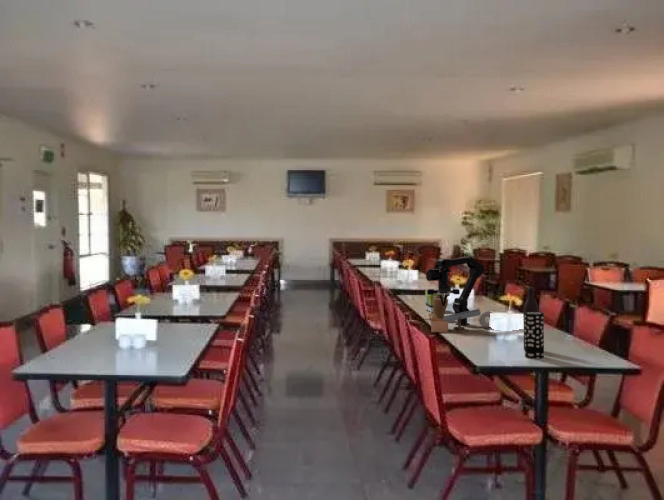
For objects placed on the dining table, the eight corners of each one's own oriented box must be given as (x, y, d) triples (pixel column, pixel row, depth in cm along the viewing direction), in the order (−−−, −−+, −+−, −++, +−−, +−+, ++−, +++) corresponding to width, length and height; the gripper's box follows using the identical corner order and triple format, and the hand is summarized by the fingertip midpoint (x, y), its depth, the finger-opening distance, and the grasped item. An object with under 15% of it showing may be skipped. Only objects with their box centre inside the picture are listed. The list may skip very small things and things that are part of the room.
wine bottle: (522, 349, 325) (521, 287, 323) (536, 348, 324) (536, 286, 323) (525, 351, 317) (525, 288, 316) (541, 351, 317) (540, 288, 316)
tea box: (425, 310, 473) (424, 289, 472) (439, 309, 474) (438, 288, 473) (430, 313, 458) (430, 291, 457) (444, 312, 459) (444, 290, 459)
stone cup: (449, 321, 418) (449, 297, 417) (430, 321, 419) (429, 297, 418) (446, 317, 433) (446, 294, 432) (427, 318, 434) (427, 295, 433)
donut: (494, 327, 392) (494, 310, 392) (496, 327, 389) (496, 310, 389) (477, 327, 391) (477, 310, 390) (480, 328, 387) (480, 311, 387)
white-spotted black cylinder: (522, 355, 309) (521, 312, 309) (539, 354, 310) (539, 311, 309) (528, 359, 301) (528, 314, 300) (546, 358, 302) (546, 314, 301)
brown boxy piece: (447, 329, 388) (447, 315, 388) (448, 332, 378) (448, 318, 378) (431, 329, 390) (431, 315, 390) (431, 332, 379) (430, 318, 379)
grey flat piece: (478, 311, 392) (477, 306, 392) (480, 315, 376) (479, 309, 376) (443, 318, 395) (442, 313, 395) (444, 322, 379) (442, 317, 379)
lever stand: (464, 328, 389) (464, 314, 389) (465, 332, 374) (465, 318, 374) (453, 328, 390) (453, 314, 390) (454, 332, 375) (454, 318, 375)
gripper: (427, 281, 391) (427, 308, 392) (459, 281, 388) (460, 308, 389) (427, 279, 402) (427, 305, 403) (459, 279, 399) (459, 305, 400)
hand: (443, 306), depth 398 cm, fingers closed
